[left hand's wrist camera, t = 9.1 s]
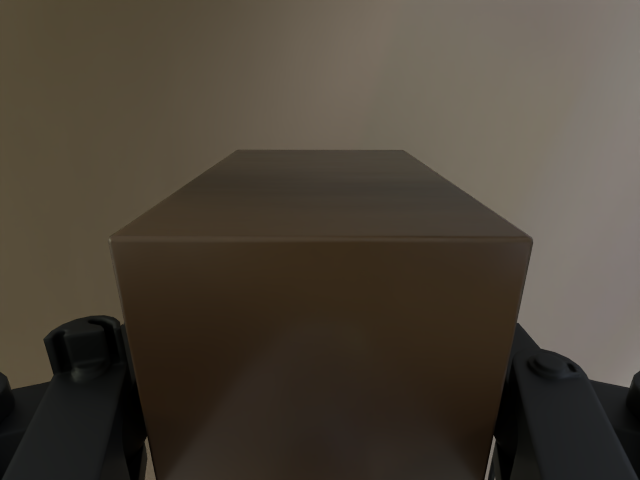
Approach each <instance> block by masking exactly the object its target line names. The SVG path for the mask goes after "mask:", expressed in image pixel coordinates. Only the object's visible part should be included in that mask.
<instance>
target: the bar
mask: <svg viewBox="0 0 640 480" xmlns="http://www.w3.org/2000/svg"><path fill="white" fill-rule="evenodd" d="M532 245H533V239H532V237H530V236H529V235H527V234H526V233H525V232H523V231H522V230H520V229H519V228H517V227H516V226H514V225H513V224H511V223H510V222H508V221H507V220H505V219H504V218H502V217H501V216H500V215H498V214H497V213H495V212H494V211H492V210H491V209H489V208H488V207H486V206H485V205H483V204H482V203H480V202H479V201H477V200H476V199H475V198H473V197H472V196H470V195H469V194H467V193H466V192H464V191H463V190H461V189H460V188H458V187H457V186H455V185H454V184H452V183H451V182H450V181H448V180H447V179H445V178H444V177H442V176H441V175H439V174H438V173H436V172H435V171H433V170H432V169H430V168H429V167H427V166H426V165H425V164H423V163H422V162H420V161H419V160H417V159H416V158H414V157H413V156H411V155H410V154H408V153H407V152H405V151H404V150H236V151H235V152H233V153H232V154H230V155H229V156H228V157H226V158H225V159H223V160H222V161H220V162H219V163H217V164H216V165H214V166H213V167H211V168H210V169H208V170H207V171H206V172H204V173H203V174H201V175H200V176H198V177H197V178H195V179H194V180H192V181H191V182H189V183H188V184H186V185H185V186H183V187H182V188H181V189H179V190H178V191H176V192H175V193H173V194H172V195H170V196H169V197H167V198H166V199H164V200H163V201H161V202H160V203H158V204H157V205H156V206H154V207H153V208H151V209H150V210H148V211H147V212H145V213H144V214H142V215H141V216H139V217H138V218H136V219H135V220H134V221H132V222H131V223H129V224H128V225H126V226H125V227H123V228H122V229H120V230H119V231H117V232H116V233H114V234H113V235H111V236H110V237H109V247H110V252H111V257H112V262H113V267H114V272H115V277H116V282H117V287H118V292H119V297H120V302H121V307H122V312H123V317H124V322H125V327H126V332H127V337H128V342H129V347H130V352H131V357H132V362H133V367H134V372H135V377H136V382H137V387H138V392H139V397H140V402H141V407H142V412H143V417H144V422H145V427H146V432H147V437H148V442H149V447H150V452H151V457H152V462H153V467H154V472H155V477H156V480H484V479H485V474H486V469H487V464H488V459H489V455H490V450H491V445H492V440H493V435H494V430H495V425H496V420H497V416H498V411H499V406H500V401H501V396H502V391H503V386H504V382H505V377H506V372H507V367H508V362H509V357H510V352H511V348H512V343H513V338H514V333H515V328H516V323H517V318H518V313H519V309H520V304H521V299H522V294H523V289H524V284H525V279H526V275H527V270H528V265H529V260H530V255H531V250H532Z"/></svg>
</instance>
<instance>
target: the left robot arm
mask: <svg viewBox="0 0 640 480" xmlns="http://www.w3.org/2000/svg"><path fill="white" fill-rule="evenodd" d="M44 343H45V346H46V350H47V353H48V357H49V360H50V364H51V367H52V370H53V374H54V376H53V378H52V380H51V381H50V382H46V383H42V384H37V385H32V386H27V387H22V388H17V389H12V390H11V387H10V384H9V382H8V379H7V377H6V376H5V375H4V374H2V373H1V372H0V480H145V472H146V464H147V453H146V447H145V442H144V441H145V439H146V437H147V432H146V427H145V422H144V417H143V412H142V407H141V402H140V397H139V392H138V387H137V382H136V377H135V372H134V367H133V362H132V357H131V352H130V347H129V342H128V337H127V332H126V327H125V322H124V324H122V325H121V326H120V322H119V321H118V320H117V319H115V318H114V317H110V316H104V315H102V316H89V317H84V318H80V319H76V320H73V321H70V322H68V323H65V324H63V325H61V326H59V327H58V328H56V329H54V330H53V331H51V332H50V333H49V334H48V335H47V336H46V337H45V338H44ZM494 437H495V439H496V442H495V447H494V452H493V457H492V461H491V466H490V471H489V476H488V480H494V478H495V479H496V480H640V371H639V372H638V373H636V374H635V375H634V377H633V380H632V383H631V386H630V388H627V387H622V386H617V385H612V384H607V383H603V382H598V381H593V380H590V379H588V377H587V375H586V374H585V372H584V371H583V370H582V369H581V367H580V366H579V365H577V364H576V363H574V362H573V361H572V360H570V359H569V358H567V357H564V356H562V355H560V354H558V353H555V352H552V351H548V350H544V349H540V347H539V346H538V345H537V344H536V343H535V342H534V341H533V339H532V338H531V337H530V336H529V335H528V334H527V332H526V331H525V330H524V329H523V328H522V327H521V326H520V324H519V323H516V328H515V333H514V338H513V343H512V348H511V352H510V357H509V362H508V367H507V372H506V377H505V382H504V386H503V391H502V396H501V401H500V406H499V411H498V416H497V420H496V425H495V430H494Z"/></svg>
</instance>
